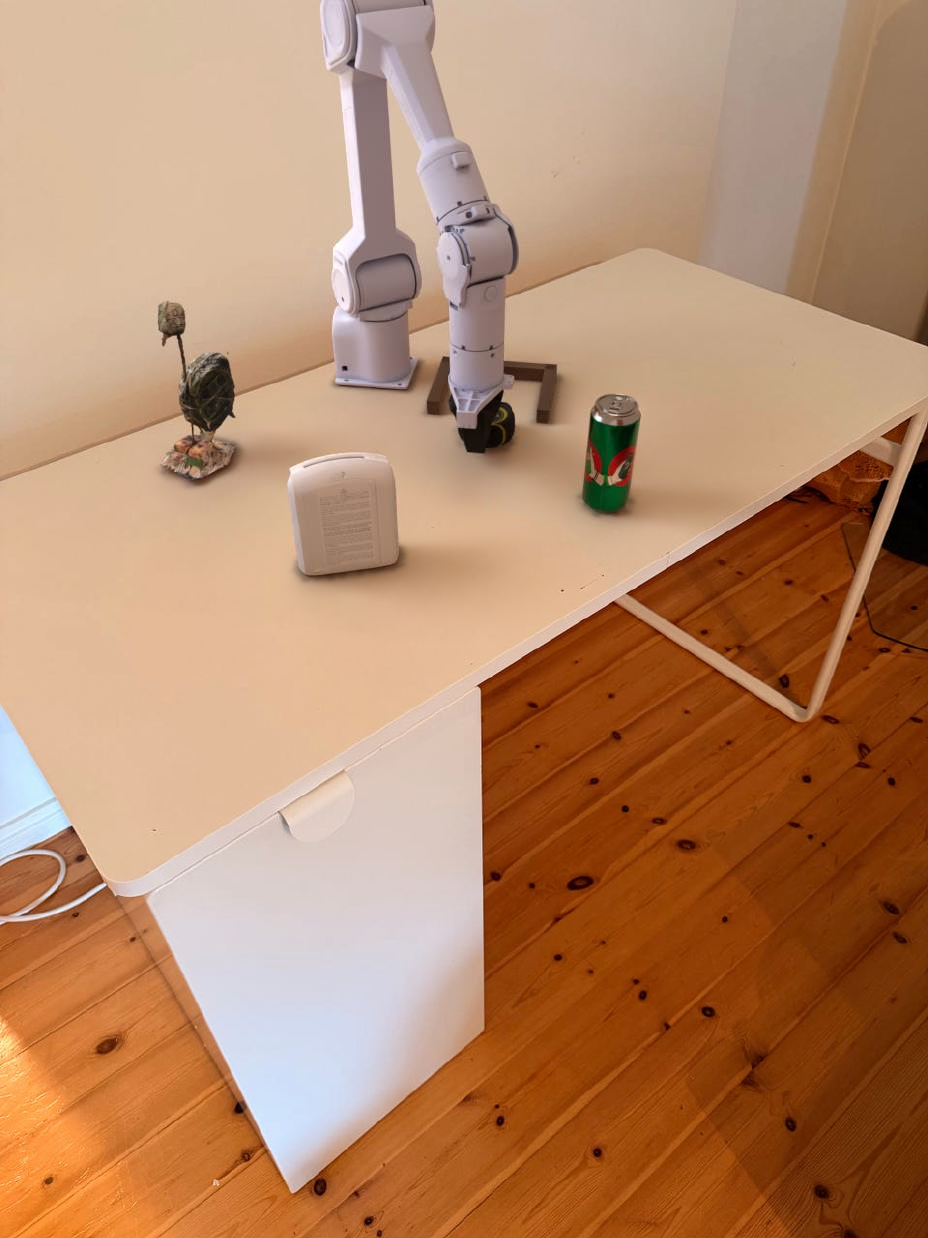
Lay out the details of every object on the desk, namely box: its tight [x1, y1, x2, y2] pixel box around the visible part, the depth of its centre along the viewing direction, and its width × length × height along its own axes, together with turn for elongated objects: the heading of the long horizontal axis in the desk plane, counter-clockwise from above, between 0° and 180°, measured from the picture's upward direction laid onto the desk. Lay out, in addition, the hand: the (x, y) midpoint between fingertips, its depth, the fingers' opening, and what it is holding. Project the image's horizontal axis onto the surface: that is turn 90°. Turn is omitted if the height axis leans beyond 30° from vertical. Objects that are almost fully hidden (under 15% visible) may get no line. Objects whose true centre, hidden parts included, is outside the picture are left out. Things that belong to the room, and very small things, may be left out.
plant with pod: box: [157, 300, 237, 482], centre depth 101 cm, size 8×11×20 cm
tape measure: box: [454, 401, 516, 449], centre depth 109 cm, size 7×7×4 cm
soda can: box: [581, 392, 642, 514], centre depth 97 cm, size 5×5×12 cm
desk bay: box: [426, 355, 558, 424], centre depth 117 cm, size 15×12×2 cm
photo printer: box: [286, 451, 400, 576], centre depth 90 cm, size 10×4×12 cm, turn 103°
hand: (476, 450), depth 106 cm, fingers closed
